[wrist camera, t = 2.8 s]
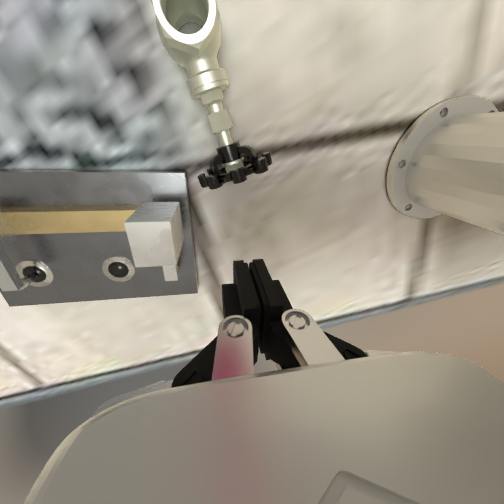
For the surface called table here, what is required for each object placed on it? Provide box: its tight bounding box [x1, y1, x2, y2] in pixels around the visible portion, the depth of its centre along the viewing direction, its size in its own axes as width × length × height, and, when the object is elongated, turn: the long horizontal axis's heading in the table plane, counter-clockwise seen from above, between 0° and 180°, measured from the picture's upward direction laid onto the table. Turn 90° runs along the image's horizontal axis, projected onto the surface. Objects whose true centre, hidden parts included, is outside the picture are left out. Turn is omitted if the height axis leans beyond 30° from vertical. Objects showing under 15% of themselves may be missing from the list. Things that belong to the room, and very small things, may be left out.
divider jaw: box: [124, 202, 184, 281], centre depth 20 cm, size 3×8×6 cm, turn 178°
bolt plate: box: [0, 169, 198, 306], centre depth 20 cm, size 20×14×9 cm
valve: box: [151, 0, 272, 189], centre depth 17 cm, size 7×7×12 cm
